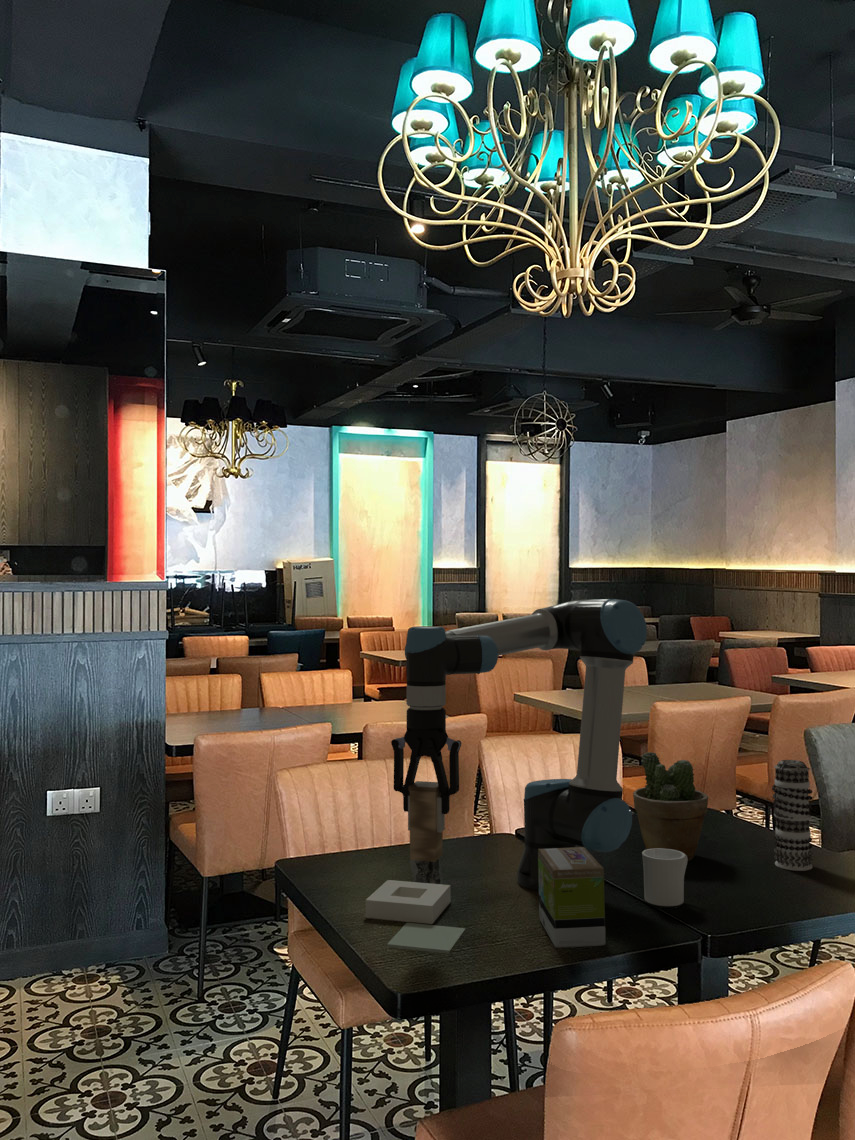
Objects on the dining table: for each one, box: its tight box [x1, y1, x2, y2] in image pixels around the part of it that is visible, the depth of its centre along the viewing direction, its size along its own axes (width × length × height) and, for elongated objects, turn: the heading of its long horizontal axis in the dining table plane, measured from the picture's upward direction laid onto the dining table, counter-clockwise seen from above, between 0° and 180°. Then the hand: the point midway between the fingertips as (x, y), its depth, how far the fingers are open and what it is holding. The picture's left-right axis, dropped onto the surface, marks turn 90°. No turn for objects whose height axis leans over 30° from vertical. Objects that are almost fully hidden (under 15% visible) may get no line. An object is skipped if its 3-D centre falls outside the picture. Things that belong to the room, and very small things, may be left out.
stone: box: [409, 858, 443, 885], centre depth 212 cm, size 10×10×10 cm
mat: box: [386, 922, 467, 955], centre depth 178 cm, size 12×12×1 cm
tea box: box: [538, 846, 606, 948], centre depth 181 cm, size 15×10×15 cm, turn 5°
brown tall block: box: [409, 780, 444, 862], centre depth 179 cm, size 5×5×14 cm
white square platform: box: [365, 879, 452, 925], centre depth 194 cm, size 14×14×4 cm
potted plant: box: [632, 751, 709, 862], centre depth 235 cm, size 18×19×25 cm
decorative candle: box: [771, 759, 814, 872], centre depth 226 cm, size 9×9×25 cm
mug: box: [641, 848, 689, 909], centre depth 200 cm, size 11×9×10 cm
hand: (426, 829), depth 179 cm, fingers closed on brown tall block, 5 cm apart
